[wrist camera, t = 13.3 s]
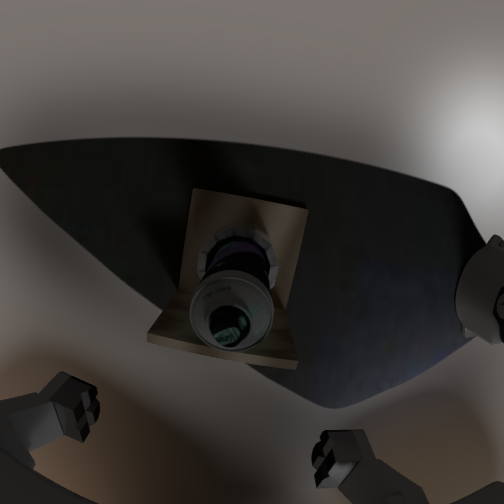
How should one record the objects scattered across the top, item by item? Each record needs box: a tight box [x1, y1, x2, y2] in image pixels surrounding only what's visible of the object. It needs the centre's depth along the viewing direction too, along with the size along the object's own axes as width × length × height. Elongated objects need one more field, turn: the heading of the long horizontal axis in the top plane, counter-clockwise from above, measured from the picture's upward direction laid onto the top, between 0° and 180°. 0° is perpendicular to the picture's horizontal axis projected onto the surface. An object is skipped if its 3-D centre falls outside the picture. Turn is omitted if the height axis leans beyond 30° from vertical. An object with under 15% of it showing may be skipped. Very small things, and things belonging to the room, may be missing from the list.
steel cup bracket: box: [197, 221, 279, 289], centre depth 32 cm, size 8×10×6 cm
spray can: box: [189, 235, 274, 352], centre depth 25 cm, size 6×6×20 cm
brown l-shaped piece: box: [147, 188, 308, 370], centre depth 29 cm, size 14×14×13 cm
